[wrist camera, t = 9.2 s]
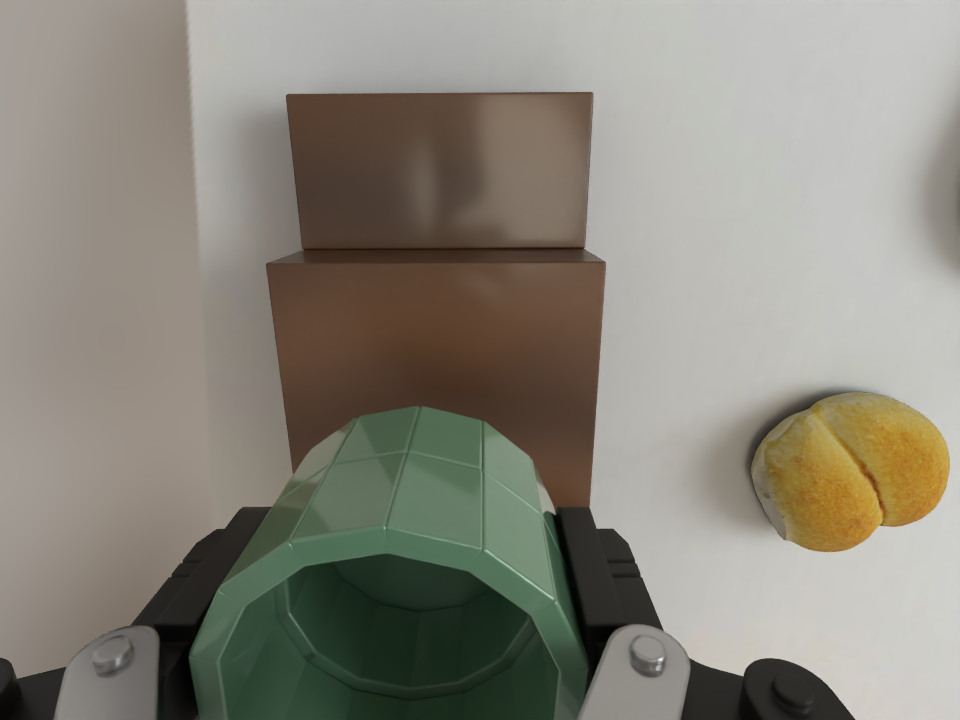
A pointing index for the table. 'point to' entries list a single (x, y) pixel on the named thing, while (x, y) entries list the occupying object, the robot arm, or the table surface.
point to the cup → (399, 586)
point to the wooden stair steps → (444, 270)
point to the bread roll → (849, 470)
